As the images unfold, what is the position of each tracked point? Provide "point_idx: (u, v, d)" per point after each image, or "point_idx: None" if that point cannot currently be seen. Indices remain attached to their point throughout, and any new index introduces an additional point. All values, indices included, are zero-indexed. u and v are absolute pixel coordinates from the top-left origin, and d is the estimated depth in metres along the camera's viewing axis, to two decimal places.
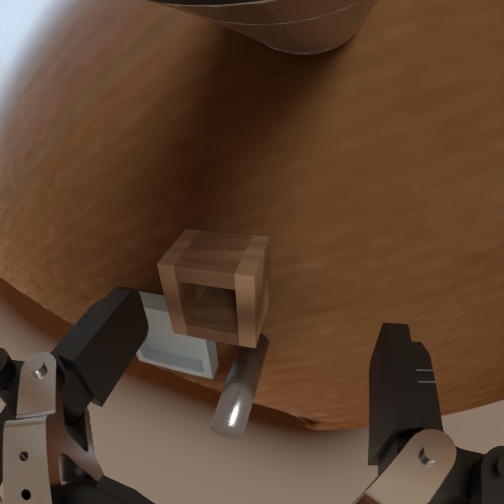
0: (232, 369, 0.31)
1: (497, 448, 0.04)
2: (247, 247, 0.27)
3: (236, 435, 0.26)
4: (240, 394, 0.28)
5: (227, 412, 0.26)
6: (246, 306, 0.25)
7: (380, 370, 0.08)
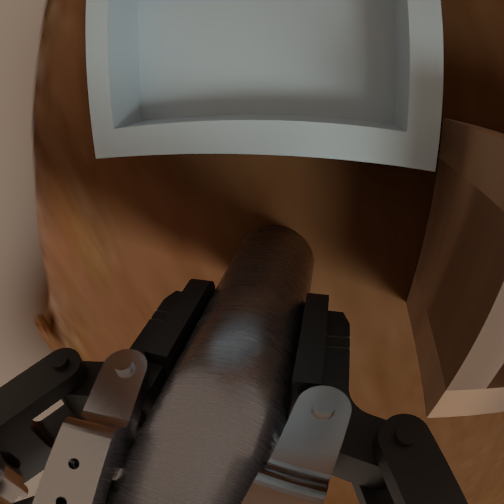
0: (282, 332, 0.08)
1: (392, 418, 0.05)
2: None
3: None
4: None
5: None
6: None
7: None
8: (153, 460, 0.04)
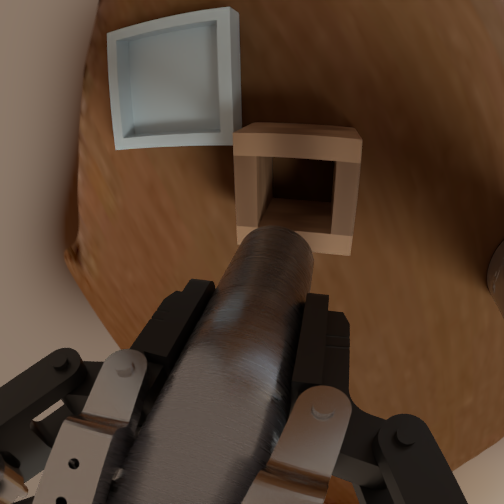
0: (282, 332, 0.08)
1: (392, 418, 0.05)
2: None
3: None
4: None
5: None
6: None
7: None
8: (153, 460, 0.04)
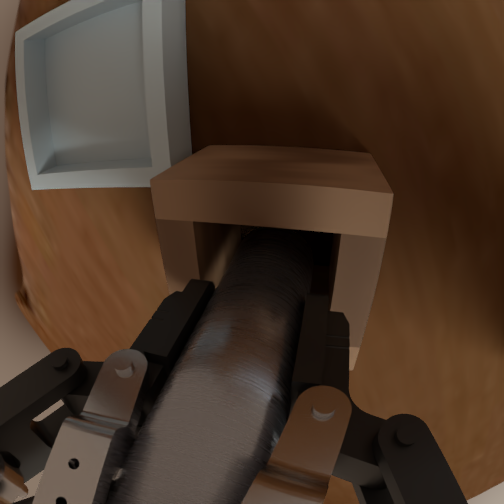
0: (282, 332, 0.08)
1: (392, 418, 0.05)
2: None
3: None
4: None
5: None
6: None
7: None
8: (153, 460, 0.04)
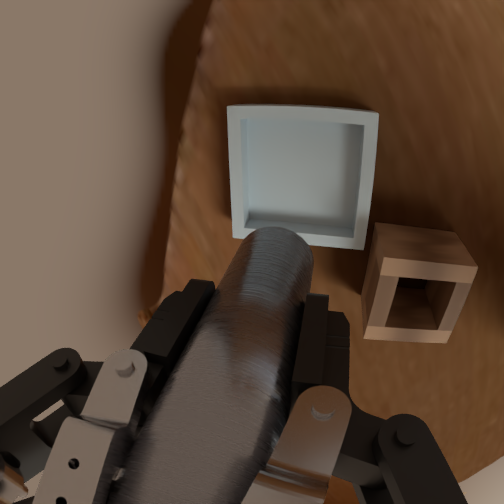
0: (282, 333, 0.08)
1: (392, 418, 0.05)
2: None
3: None
4: None
5: None
6: (418, 336, 0.23)
7: None
8: (153, 461, 0.04)
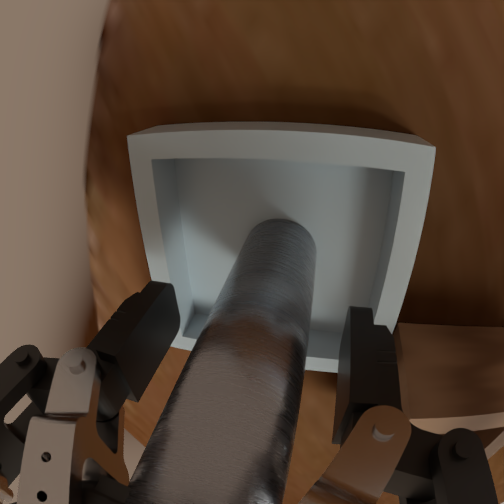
0: (293, 314, 0.09)
1: (453, 431, 0.05)
2: None
3: None
4: None
5: None
6: None
7: (344, 351, 0.08)
8: (182, 431, 0.05)
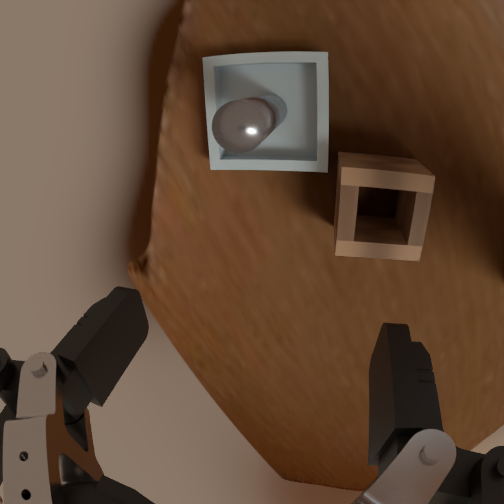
0: (273, 101, 0.22)
1: (497, 448, 0.04)
2: None
3: (229, 142, 0.18)
4: (273, 127, 0.20)
5: (268, 122, 0.18)
6: (389, 252, 0.26)
7: (380, 370, 0.08)
8: None
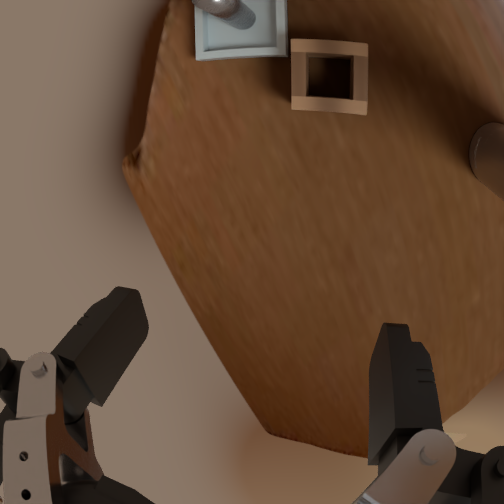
0: None
1: (497, 448, 0.04)
2: None
3: (201, 3, 0.21)
4: (235, 5, 0.23)
5: None
6: (338, 106, 0.29)
7: (380, 370, 0.08)
8: None
